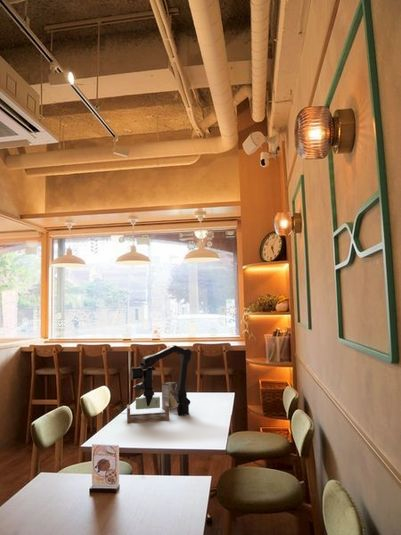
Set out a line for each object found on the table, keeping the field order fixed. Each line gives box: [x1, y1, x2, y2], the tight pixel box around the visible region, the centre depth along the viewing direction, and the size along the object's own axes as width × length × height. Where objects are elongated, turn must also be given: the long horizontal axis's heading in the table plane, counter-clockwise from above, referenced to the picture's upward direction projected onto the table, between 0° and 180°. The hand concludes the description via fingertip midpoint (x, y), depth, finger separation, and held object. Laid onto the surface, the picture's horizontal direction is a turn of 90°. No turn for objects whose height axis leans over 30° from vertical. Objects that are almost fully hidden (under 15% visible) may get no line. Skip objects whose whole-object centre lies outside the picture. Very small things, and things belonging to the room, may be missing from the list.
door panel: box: [135, 396, 161, 410], centre depth 248 cm, size 14×3×6 cm, turn 100°
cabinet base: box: [126, 403, 170, 424], centre depth 248 cm, size 24×10×8 cm, turn 100°
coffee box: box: [161, 381, 179, 411], centre depth 277 cm, size 9×6×16 cm
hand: (148, 405), depth 248 cm, fingers closed on door panel, 3 cm apart
